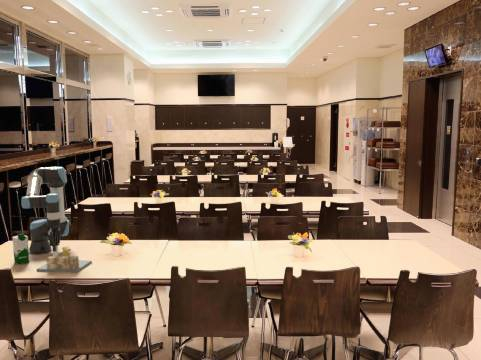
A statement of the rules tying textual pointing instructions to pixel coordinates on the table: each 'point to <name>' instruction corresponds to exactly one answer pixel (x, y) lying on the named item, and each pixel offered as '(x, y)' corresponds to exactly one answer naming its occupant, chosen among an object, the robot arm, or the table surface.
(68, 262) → the link
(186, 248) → the table surface
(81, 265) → the deck
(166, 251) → the table surface
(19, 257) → the milk carton
